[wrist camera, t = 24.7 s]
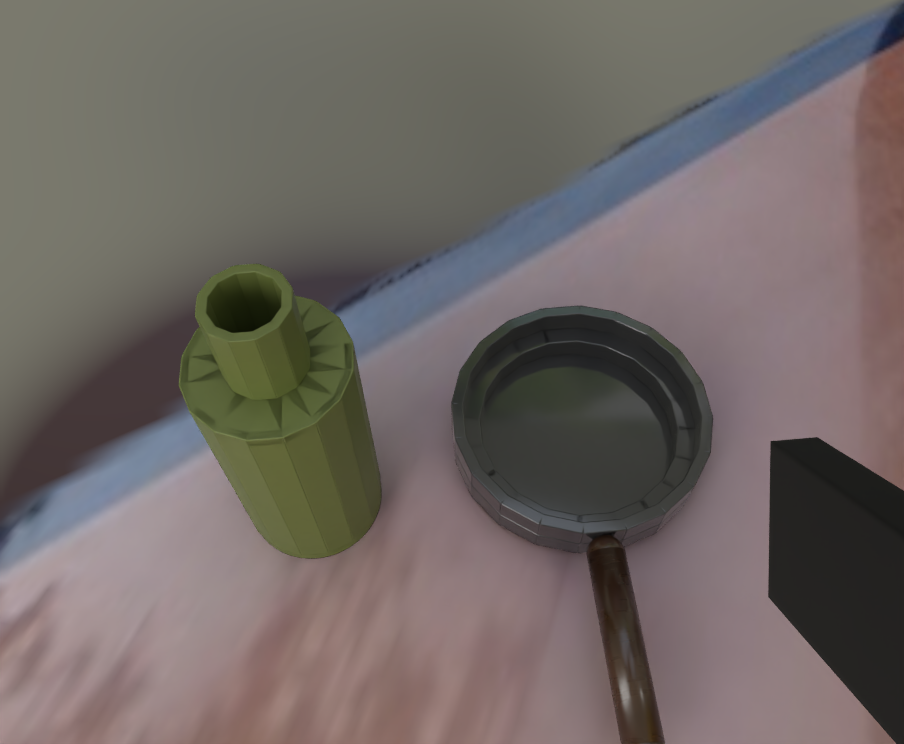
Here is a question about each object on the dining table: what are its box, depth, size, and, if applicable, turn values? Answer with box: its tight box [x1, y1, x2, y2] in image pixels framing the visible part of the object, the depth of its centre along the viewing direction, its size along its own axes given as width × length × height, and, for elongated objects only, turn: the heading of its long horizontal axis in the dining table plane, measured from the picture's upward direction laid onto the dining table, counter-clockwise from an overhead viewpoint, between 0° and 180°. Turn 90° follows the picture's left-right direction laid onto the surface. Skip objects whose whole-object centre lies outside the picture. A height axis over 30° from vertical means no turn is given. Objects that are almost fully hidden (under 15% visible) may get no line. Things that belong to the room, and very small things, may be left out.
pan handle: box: [587, 535, 665, 744], centre depth 37 cm, size 2×10×2 cm, turn 5°
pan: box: [451, 306, 713, 553], centre depth 44 cm, size 13×13×3 cm
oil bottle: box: [179, 264, 381, 558], centre depth 37 cm, size 7×7×17 cm
